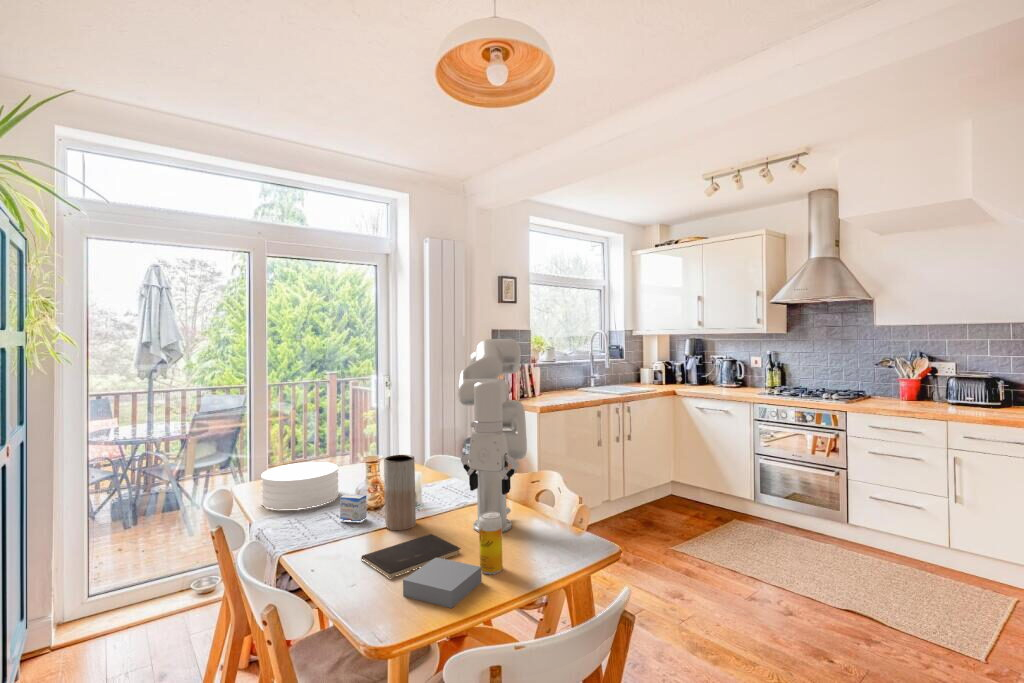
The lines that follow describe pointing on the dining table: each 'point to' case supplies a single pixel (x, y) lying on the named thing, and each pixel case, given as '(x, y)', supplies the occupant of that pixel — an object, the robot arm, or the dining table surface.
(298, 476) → the plate stack
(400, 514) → the planter
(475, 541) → the dining table surface
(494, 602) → the dining table surface
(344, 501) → the medicine box
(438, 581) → the plate
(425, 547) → the hardcover book
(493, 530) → the beer can
